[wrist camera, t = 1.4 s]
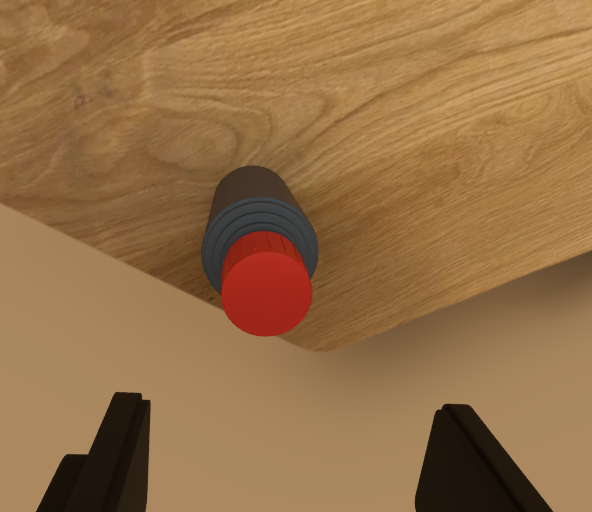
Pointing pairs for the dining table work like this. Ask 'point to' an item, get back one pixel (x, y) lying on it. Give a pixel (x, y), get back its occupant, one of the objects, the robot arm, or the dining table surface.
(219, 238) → the bottle
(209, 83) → the dining table surface
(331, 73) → the dining table surface
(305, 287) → the cap
